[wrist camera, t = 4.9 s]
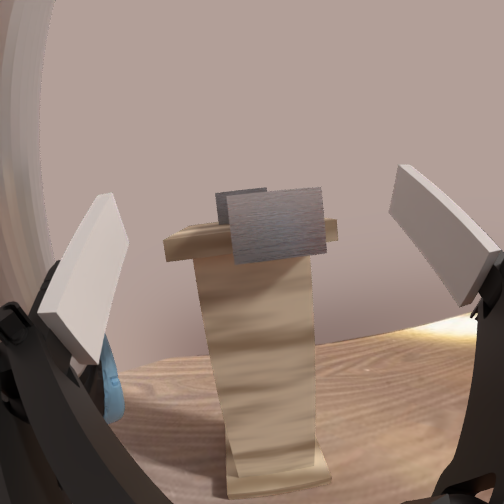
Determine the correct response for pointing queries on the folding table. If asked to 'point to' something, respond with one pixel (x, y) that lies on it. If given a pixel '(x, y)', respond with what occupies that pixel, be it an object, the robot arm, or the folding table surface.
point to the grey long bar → (273, 223)
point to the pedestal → (259, 360)
